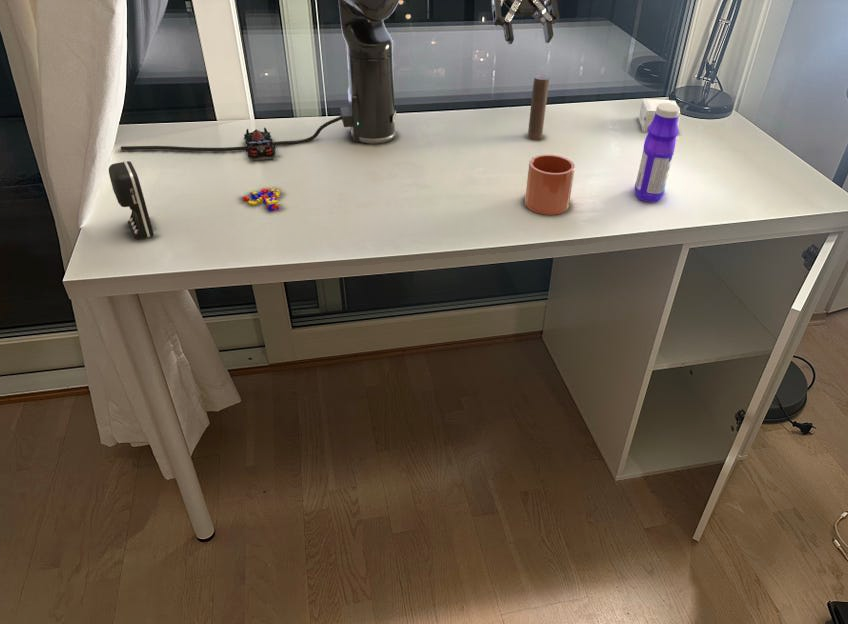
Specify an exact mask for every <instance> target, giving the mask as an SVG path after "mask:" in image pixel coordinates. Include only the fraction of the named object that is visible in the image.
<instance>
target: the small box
mask: <svg viewBox="0 0 848 624" xmlns="http://www.w3.org/2000/svg"><path fill="white" fill-rule="evenodd" d="M660 103H671V104H675V105H677V106H678V104H677V102H676V100H673V99H672V100H671V99H653V98H642V101H641V104H640V105H641V106H640V110H639V115H638V116H639V117H638V121H639V124H640V126H641V130H642V131H641V132H643V133H648V131H647V128H648V126H649V125H650V124H651V123H652V121H653V119H654V116H655V113H656V109H657V105H658V104H660ZM681 113H682V112H681V110H680V111H679V115H678V121H677V125H678V126H679V122H680V119H681V118H680V117H681Z"/></svg>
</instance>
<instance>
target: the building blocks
mask: <svg viewBox="0 0 848 624" xmlns="http://www.w3.org/2000/svg"><path fill="white" fill-rule="evenodd" d="M264 194H265V195H264ZM280 195H281V193H280V189H276V188H274V187H272V186H269V188H262V189H261V190H260V192H257V191H255V190H254V191H252V190H249V196H250V197H251V200H250V198H249V197H247V196H246V195H245V196H242V200H243V201H244V202H245V203H246V202H248V205H249V206H257V205H259V204H260V203H261V204H262V203H263V204H264V205H265V207H266V208H267V210H268V211H269V212H273V211H278V210H279V209H280V207H279V201H278V199H277V198H280ZM254 200H256V201H254Z"/></svg>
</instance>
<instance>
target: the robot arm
mask: <svg viewBox="0 0 848 624" xmlns="http://www.w3.org/2000/svg"><path fill="white" fill-rule="evenodd" d="M542 2H543V3H544V4H542ZM399 3H400V0H338V8H339V19H340V27H341V34H342V38H343V40H344V41H345V46H346V57H347V76H348V87H347V98H348V106H341V107H340V116H337V117H334V118H332V119H330V120H329V121H327V122H324V123H323V124H322V125H320V126H319V127H318V128H317V130H316V131H315V132H314V134H313V135H311V136H310V137H309V136H308V137H307V138H304V139H299V140H298V139H297V140H280V141H273V142H272V143H273V145H275V146H284V145H285V146H286V145H298V144H303V143H305V144H306V143H308V142H311V141H313V140H314V139H316V138H317V137H318V136H319V134H320V133H321V131H323V130H324V129H325V128H326V127H328V126H330V125H333V124H334V123H337V122H339V121H341V122H342V125H343V127H344V128H349V130H350V134H351V138H352V140H353V142H354V143H364V144H370V145H371V144H372V145H374V144H377V145H378V144H383V143H387V142H390V141H392V140H393V139H395V137H396V125H395V121H396V118H397V110H395V81H394V76H395V75H394V42H393V38H392V36H391V35H390V33H389V32H388V30H387V28H386V25H385V23H384V22H385V21H384V20H386V19H388V18H389V17H390V16H391V15H392V14H393V13H394V12H395V10H396V8H397V6H398V4H399ZM490 3H491V12H492V13H491V14H492V21H493V25H494V26H496V27H497V26H500V27H502V31H503V36H504V40H505V42H507V44H508V45H513V42H514V40H515V35H514V30H513V24H512V23H513V22H511V21H512V20H513V18H514V16H516V17H517V18H523V17H526V18H532V17H533V18H534V19H535V21H538V22H539V23H540V24H541V25H542V30H543V36H544V42H545V44H550V43H551V41H552V39H553V38H554V29H553V25H555V24H556V23H557V21H558V19H559V18H560V12H559V7H558V3H557V0H491V2H490ZM503 3H504V5H505V6H506V7H507V8H508V9H509V10H508V12H507V13H506V15H505V16H503V15H502V6H503ZM546 8H547V9H546ZM245 147H247V145H244V146H230V147H228V146H227V147H226V146H225V147H198V146H197V147H194V146H172V145H131V146H130V145H128V146H123V145H122V146H120V150H121V151H142V150H143V151H145V150H146V151H148V150H150V151H153V150H155V151H157V150H159V151H163V150H164V151H183V152H185V151H187V152H237V151H246V150H245Z"/></svg>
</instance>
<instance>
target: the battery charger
mask: <svg viewBox="0 0 848 624" xmlns="http://www.w3.org/2000/svg"><path fill="white" fill-rule="evenodd" d="M108 175H109V178H110V183H111V187H112V190H113V194H114V196H115V198H116V200H117V203H118V205H120V207H122V208H129V210H130V211H131V213H130V217H129V219H128V220H127V225H128V228H129V230H130V232H131V234H132V236H133V238H134V239H145V238H151V237H153V236H154V235H155V233H154V230H153V226H152V221H151V218H150V215H149V211H148V208H147V203H146V200H145V197H144V193H143V190H142V186H141V183H140V179H139V175H138V173H137V171H136V168H135V167H134V165H133V162H132V161H130V160H123V161H122V162H116V163H115V162H114V163H111V165H109V167H108Z"/></svg>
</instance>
